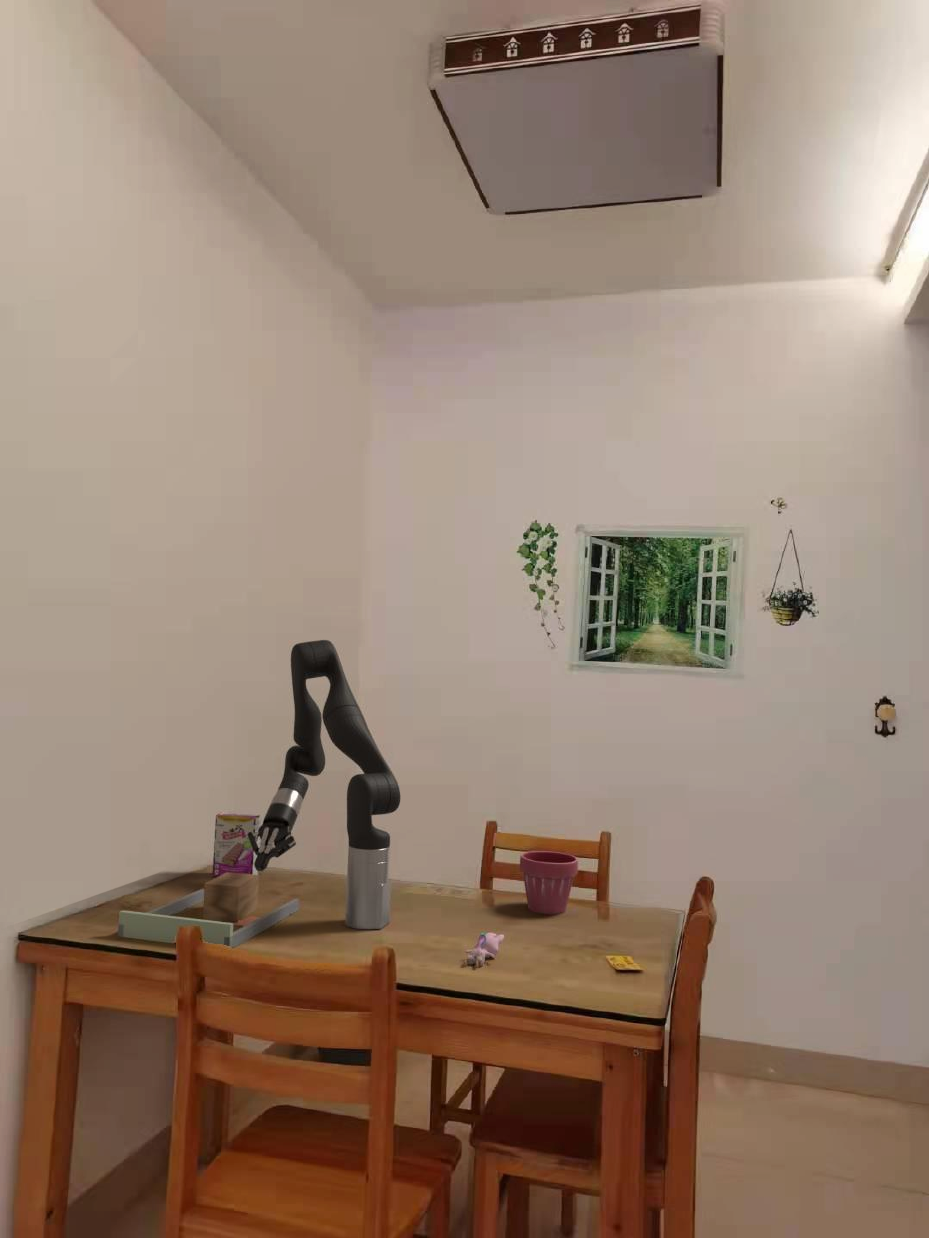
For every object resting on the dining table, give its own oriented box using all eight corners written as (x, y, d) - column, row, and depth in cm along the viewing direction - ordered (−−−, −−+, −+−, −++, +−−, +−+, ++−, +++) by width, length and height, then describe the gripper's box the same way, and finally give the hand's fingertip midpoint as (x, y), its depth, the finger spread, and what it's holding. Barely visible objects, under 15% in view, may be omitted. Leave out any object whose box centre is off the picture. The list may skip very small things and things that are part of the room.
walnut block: (257, 909, 218) (259, 874, 218) (236, 923, 206) (238, 886, 206) (224, 906, 219) (226, 872, 220) (202, 920, 207) (204, 883, 208)
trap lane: (298, 910, 218) (299, 888, 218) (229, 950, 186) (230, 924, 187) (201, 899, 224) (202, 878, 225) (117, 936, 193) (119, 911, 193)
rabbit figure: (485, 977, 180) (513, 945, 194) (485, 948, 180) (512, 917, 193) (456, 972, 183) (485, 940, 196) (455, 943, 182) (484, 913, 196)
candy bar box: (211, 877, 248) (214, 814, 249) (218, 872, 253) (221, 811, 254) (252, 879, 247) (255, 816, 248) (258, 875, 252) (261, 813, 252)
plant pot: (586, 915, 223) (588, 861, 224) (532, 918, 219) (534, 863, 219) (560, 900, 237) (562, 849, 238) (509, 903, 232) (511, 851, 233)
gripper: (255, 799, 237) (229, 857, 225) (303, 803, 234) (279, 862, 221) (264, 817, 242) (238, 875, 230) (311, 821, 239) (288, 880, 226)
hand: (258, 869), depth 226 cm, fingers closed
